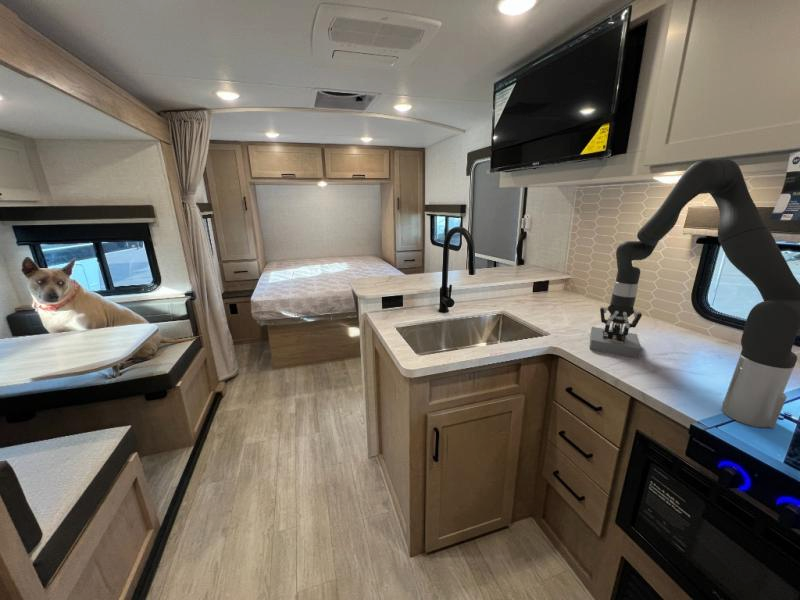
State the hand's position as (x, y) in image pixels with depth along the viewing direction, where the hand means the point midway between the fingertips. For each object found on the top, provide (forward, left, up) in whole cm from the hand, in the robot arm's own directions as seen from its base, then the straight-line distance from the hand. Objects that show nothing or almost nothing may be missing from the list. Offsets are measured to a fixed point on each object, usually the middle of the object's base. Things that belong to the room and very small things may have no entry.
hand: (615, 334), depth 126 cm
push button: (+1, 0, -2) cm, 2 cm away
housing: (0, 0, -5) cm, 5 cm away
